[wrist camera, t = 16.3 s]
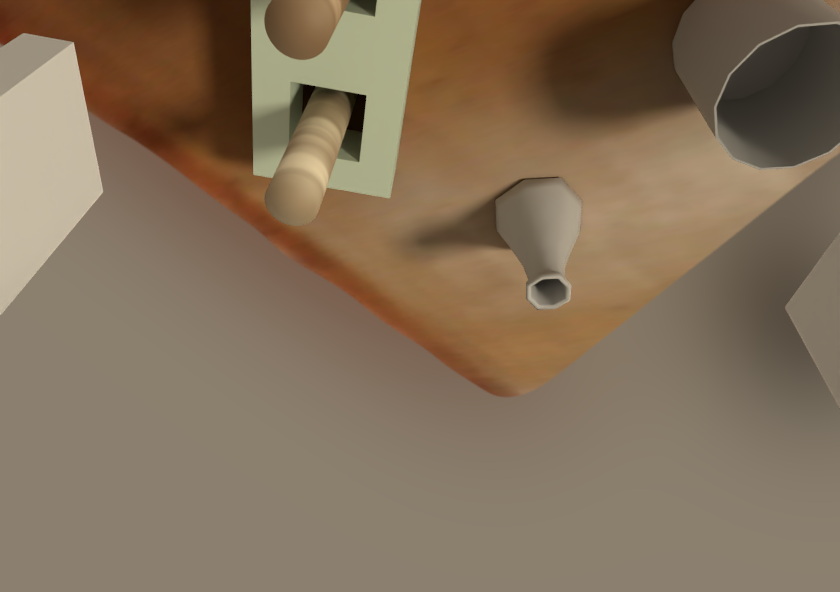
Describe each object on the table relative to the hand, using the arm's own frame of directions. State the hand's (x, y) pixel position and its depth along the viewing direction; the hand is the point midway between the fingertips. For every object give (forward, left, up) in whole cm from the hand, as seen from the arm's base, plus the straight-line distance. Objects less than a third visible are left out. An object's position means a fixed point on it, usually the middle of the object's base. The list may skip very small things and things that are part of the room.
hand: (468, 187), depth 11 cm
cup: (+6, +19, -35) cm, 40 cm away
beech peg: (+15, -7, -35) cm, 38 cm away
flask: (+22, +10, -35) cm, 43 cm away
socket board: (+10, -7, -35) cm, 37 cm away
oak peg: (+5, -7, -35) cm, 36 cm away
